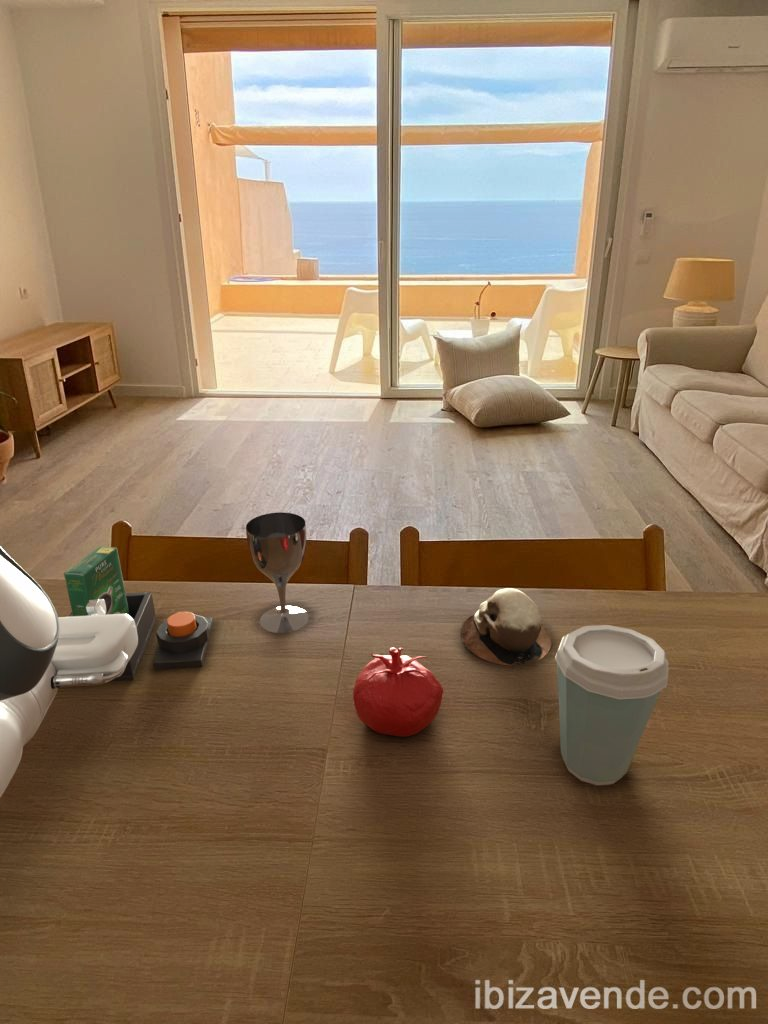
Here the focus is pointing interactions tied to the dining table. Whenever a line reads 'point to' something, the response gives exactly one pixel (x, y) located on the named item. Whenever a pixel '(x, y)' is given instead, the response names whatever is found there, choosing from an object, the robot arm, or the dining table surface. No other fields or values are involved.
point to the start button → (181, 624)
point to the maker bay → (138, 629)
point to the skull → (506, 629)
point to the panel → (183, 646)
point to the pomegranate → (397, 694)
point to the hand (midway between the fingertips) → (54, 607)
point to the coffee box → (97, 582)
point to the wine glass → (279, 563)
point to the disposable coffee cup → (606, 698)
